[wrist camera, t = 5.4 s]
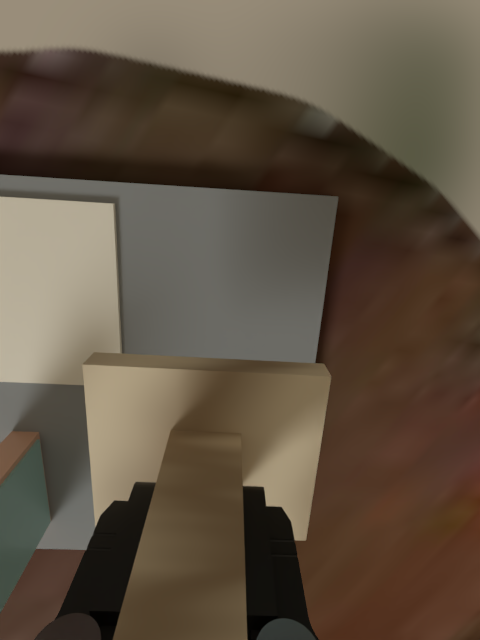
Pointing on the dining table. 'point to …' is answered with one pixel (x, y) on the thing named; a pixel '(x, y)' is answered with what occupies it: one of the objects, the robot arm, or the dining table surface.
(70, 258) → the plate
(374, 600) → the dining table surface
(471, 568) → the dining table surface
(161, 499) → the square plate with post
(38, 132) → the dining table surface
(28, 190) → the mat
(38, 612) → the dining table surface
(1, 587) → the tile
